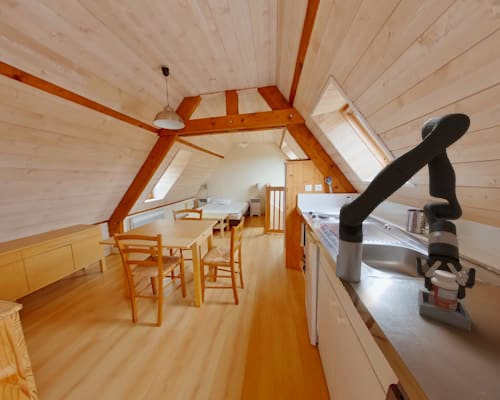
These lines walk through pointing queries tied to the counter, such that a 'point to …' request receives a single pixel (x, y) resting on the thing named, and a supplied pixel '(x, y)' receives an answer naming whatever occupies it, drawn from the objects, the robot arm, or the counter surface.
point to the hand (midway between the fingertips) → (444, 294)
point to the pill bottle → (444, 291)
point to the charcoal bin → (444, 313)
